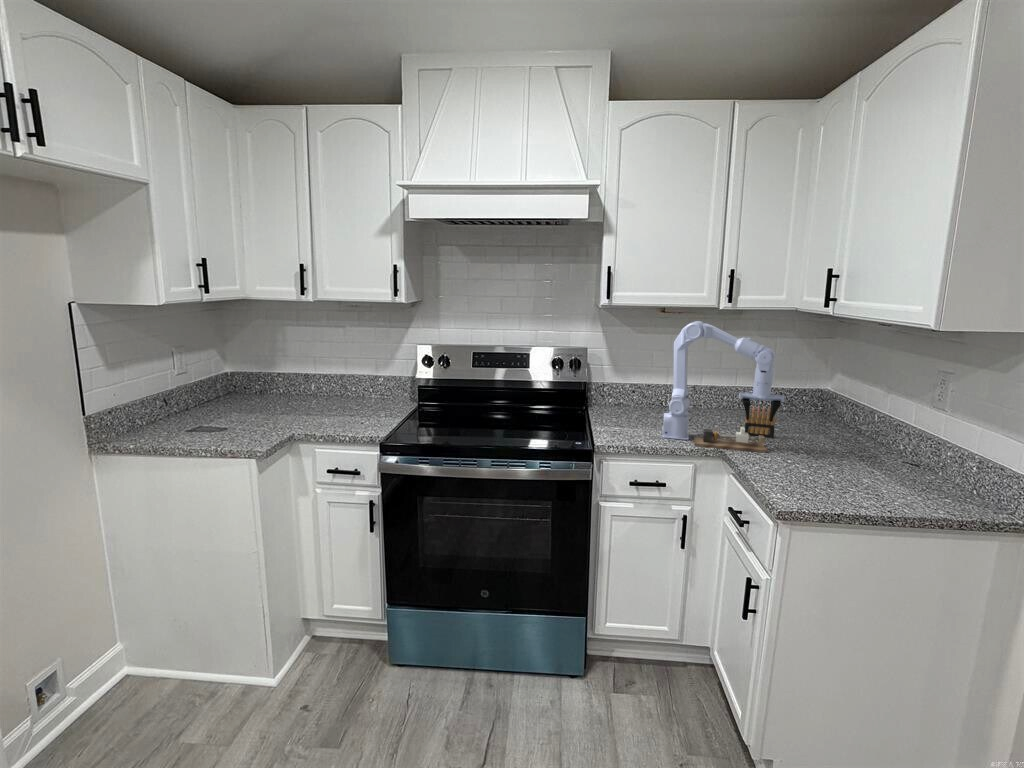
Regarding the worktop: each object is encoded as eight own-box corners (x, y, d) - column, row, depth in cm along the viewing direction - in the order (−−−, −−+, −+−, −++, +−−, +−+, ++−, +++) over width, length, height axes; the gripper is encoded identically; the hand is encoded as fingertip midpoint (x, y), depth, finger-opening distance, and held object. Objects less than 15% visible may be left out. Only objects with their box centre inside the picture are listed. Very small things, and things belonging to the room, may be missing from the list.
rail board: (694, 446, 199) (695, 432, 198) (694, 439, 208) (695, 426, 207) (767, 453, 193) (768, 438, 192) (763, 445, 201) (764, 432, 200)
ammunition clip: (773, 437, 212) (776, 406, 210) (773, 438, 210) (777, 407, 208) (743, 434, 216) (746, 404, 213) (743, 435, 214) (746, 405, 212)
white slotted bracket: (736, 441, 198) (737, 428, 197) (735, 439, 201) (736, 426, 200) (748, 442, 197) (749, 429, 196) (747, 440, 200) (748, 427, 199)
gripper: (741, 383, 191) (738, 421, 194) (787, 386, 187) (783, 424, 190) (739, 379, 198) (736, 416, 201) (783, 382, 194) (779, 419, 197)
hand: (758, 420), depth 196 cm, fingers open, 7 cm apart
